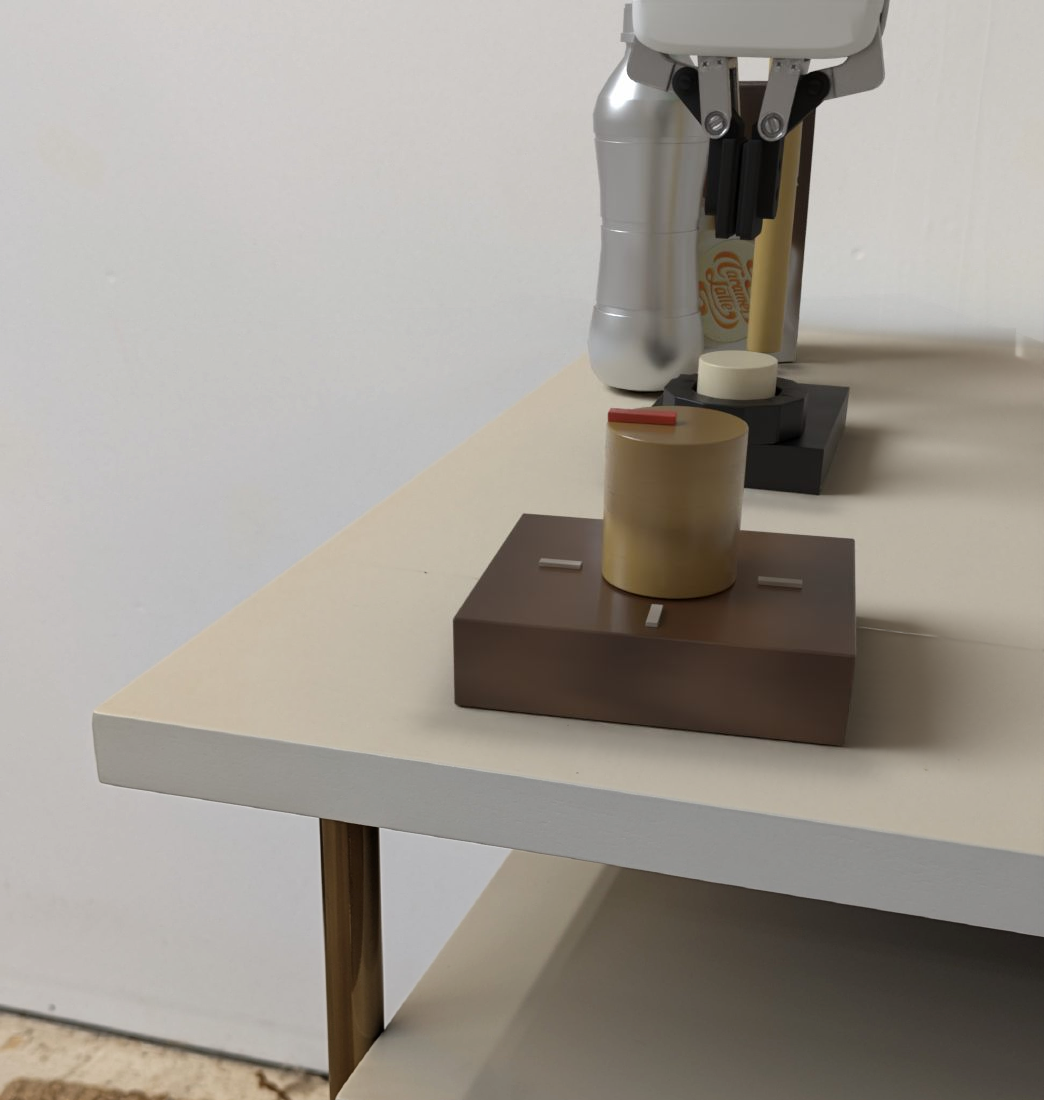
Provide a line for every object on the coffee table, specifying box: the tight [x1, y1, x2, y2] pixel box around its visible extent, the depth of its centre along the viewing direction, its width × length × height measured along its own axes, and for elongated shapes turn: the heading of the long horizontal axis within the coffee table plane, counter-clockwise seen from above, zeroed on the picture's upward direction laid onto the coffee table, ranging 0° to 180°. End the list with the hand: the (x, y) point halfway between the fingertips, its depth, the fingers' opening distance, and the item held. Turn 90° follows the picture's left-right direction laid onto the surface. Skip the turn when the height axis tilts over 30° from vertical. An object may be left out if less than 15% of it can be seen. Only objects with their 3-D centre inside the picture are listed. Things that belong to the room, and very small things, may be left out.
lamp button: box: [697, 350, 779, 400], centre depth 62 cm, size 4×4×2 cm
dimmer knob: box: [601, 406, 749, 599], centre depth 42 cm, size 4×4×5 cm
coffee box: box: [698, 80, 817, 363], centre depth 82 cm, size 9×6×16 cm
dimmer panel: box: [452, 512, 857, 747], centre depth 44 cm, size 12×10×3 cm
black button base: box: [650, 373, 851, 496], centre depth 65 cm, size 13×9×4 cm
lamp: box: [746, 58, 802, 353], centre depth 65 cm, size 6×6×20 cm
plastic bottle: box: [587, 2, 710, 393], centre depth 73 cm, size 6×7×20 cm
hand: (738, 234), depth 59 cm, fingers closed
